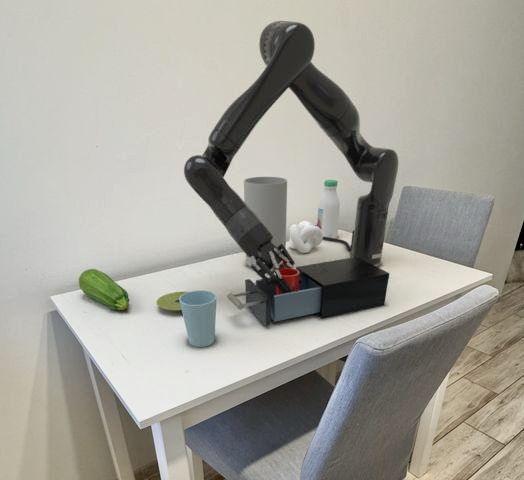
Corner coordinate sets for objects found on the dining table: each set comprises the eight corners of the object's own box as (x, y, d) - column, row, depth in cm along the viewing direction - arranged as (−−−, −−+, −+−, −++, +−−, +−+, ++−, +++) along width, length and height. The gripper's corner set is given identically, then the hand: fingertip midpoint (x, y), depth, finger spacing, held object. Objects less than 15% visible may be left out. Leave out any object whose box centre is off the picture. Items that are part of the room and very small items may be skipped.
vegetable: (89, 260, 113) (127, 281, 101) (105, 279, 118) (143, 301, 106) (68, 278, 111) (104, 301, 98) (85, 297, 116) (122, 321, 104)
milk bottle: (339, 235, 161) (344, 179, 150) (333, 241, 155) (338, 183, 144) (320, 233, 163) (323, 178, 153) (313, 238, 157) (317, 181, 147)
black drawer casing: (321, 319, 101) (323, 285, 97) (294, 297, 112) (296, 266, 107) (384, 305, 108) (389, 273, 103) (353, 286, 118) (357, 256, 114)
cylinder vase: (261, 254, 142) (260, 175, 129) (292, 262, 136) (295, 179, 123) (238, 265, 133) (234, 181, 120) (270, 273, 127) (270, 185, 114)
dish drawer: (242, 331, 94) (241, 303, 91) (224, 309, 104) (222, 283, 100) (331, 312, 102) (334, 286, 99) (306, 293, 112) (308, 269, 108)
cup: (177, 339, 93) (172, 296, 87) (206, 329, 97) (203, 287, 92) (196, 353, 88) (191, 308, 83) (226, 341, 92) (223, 298, 87)
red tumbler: (272, 300, 103) (272, 269, 99) (291, 297, 105) (292, 266, 101) (281, 309, 99) (282, 277, 95) (301, 305, 101) (303, 274, 97)
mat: (153, 302, 110) (152, 295, 109) (195, 295, 114) (194, 288, 113) (162, 320, 101) (161, 313, 100) (207, 311, 105) (207, 304, 104)
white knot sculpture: (310, 257, 139) (311, 230, 134) (278, 251, 144) (279, 225, 140) (325, 248, 147) (327, 222, 142) (295, 243, 153) (295, 218, 148)
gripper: (243, 229, 90) (293, 291, 92) (272, 214, 101) (316, 269, 103) (223, 250, 95) (271, 308, 96) (252, 234, 106) (295, 286, 107)
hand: (294, 288), depth 99 cm, fingers closed on red tumbler, 5 cm apart
